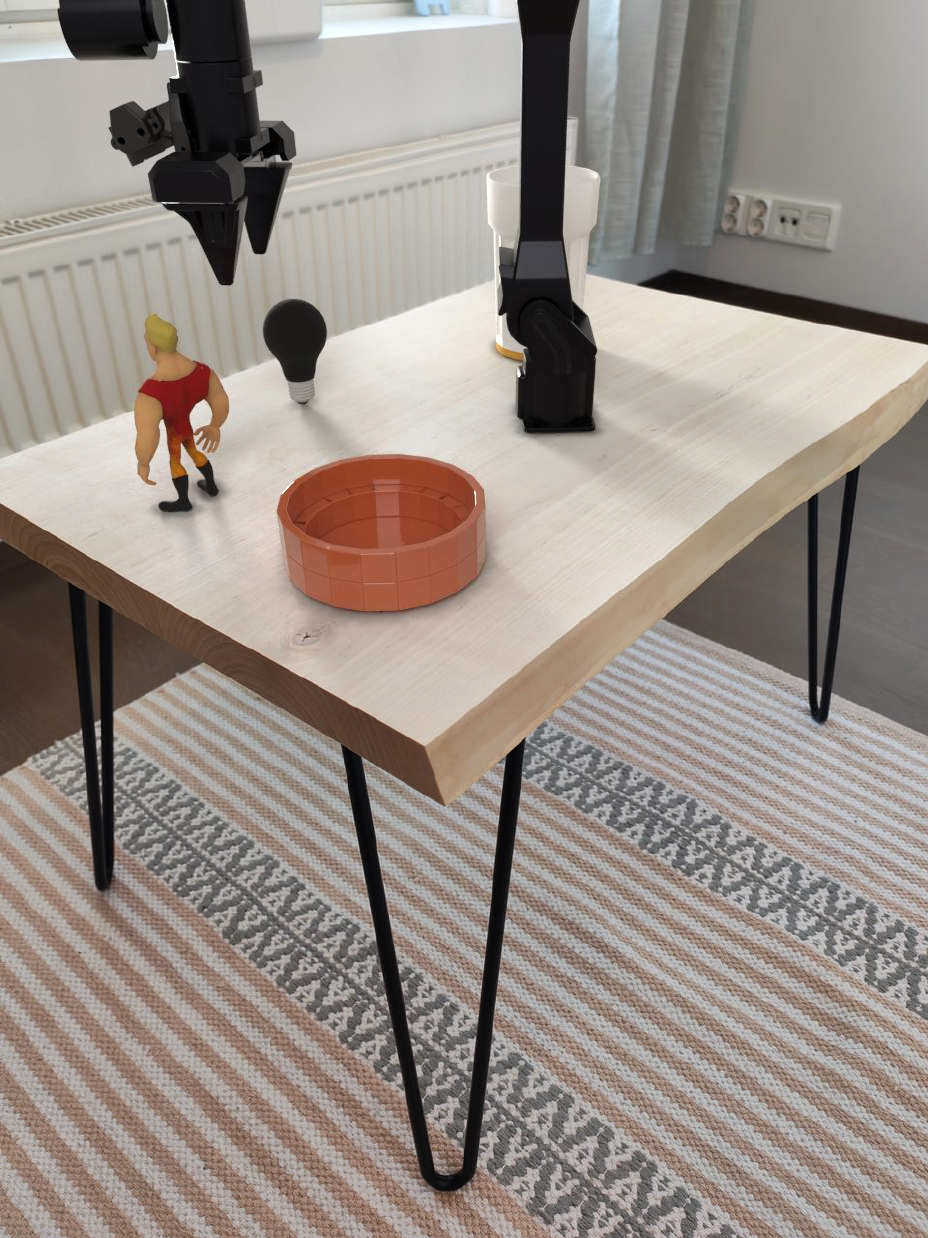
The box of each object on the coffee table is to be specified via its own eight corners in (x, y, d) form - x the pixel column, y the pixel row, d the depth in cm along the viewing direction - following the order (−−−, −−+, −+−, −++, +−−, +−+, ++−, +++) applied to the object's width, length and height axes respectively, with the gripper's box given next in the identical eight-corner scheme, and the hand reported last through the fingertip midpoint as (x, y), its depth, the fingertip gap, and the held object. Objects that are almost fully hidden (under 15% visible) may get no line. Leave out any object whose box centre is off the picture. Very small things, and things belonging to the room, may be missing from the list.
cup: (522, 322, 113) (526, 159, 103) (608, 342, 107) (621, 171, 97) (465, 352, 105) (462, 178, 95) (554, 374, 100) (562, 192, 90)
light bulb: (322, 418, 92) (311, 312, 86) (263, 413, 93) (248, 308, 87) (341, 394, 96) (332, 291, 91) (285, 390, 97) (272, 288, 92)
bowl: (480, 509, 77) (480, 451, 74) (490, 614, 65) (490, 550, 63) (297, 514, 77) (290, 456, 74) (274, 620, 65) (264, 556, 62)
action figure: (216, 471, 83) (184, 293, 74) (248, 481, 82) (219, 300, 73) (132, 519, 76) (86, 330, 68) (165, 531, 75) (123, 339, 66)
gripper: (159, 46, 83) (191, 238, 92) (57, 74, 68) (108, 300, 77) (286, 45, 82) (307, 240, 91) (211, 74, 67) (245, 304, 76)
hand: (243, 268), depth 83 cm, fingers open, 9 cm apart
